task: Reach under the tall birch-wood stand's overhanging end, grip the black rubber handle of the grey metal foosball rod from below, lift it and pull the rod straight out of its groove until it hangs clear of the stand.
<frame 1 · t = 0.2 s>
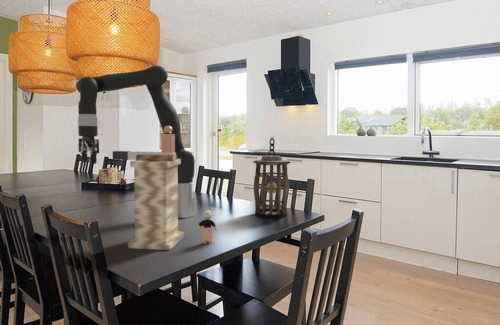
hand: (89, 163, 161), 29 cm above the table, tool pointing down, fingers open, 8 cm apart
foosball rod: (144, 159, 144), point 32 cm above the table, touching display stand
lantern: (270, 215, 195), on the table
display stand: (157, 241, 147), on the table
grandmother figurine: (207, 243, 146), on the table
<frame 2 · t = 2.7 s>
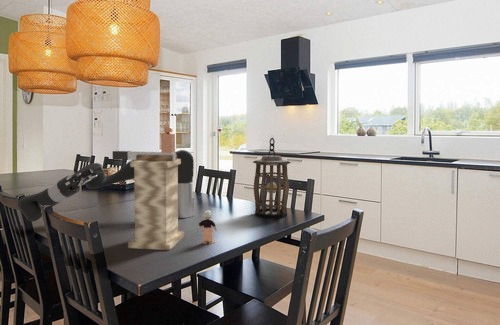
hand: (96, 169, 147), 28 cm above the table, tool pointing upward, fingers open, 8 cm apart
nothing on the table moved.
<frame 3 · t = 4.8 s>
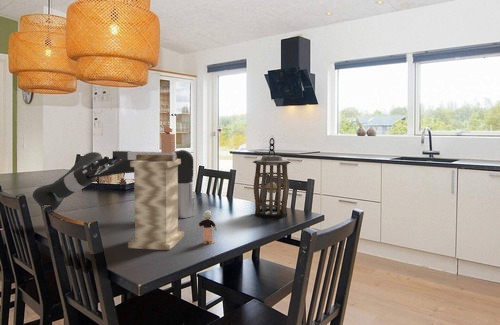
hand: (113, 158, 145), 32 cm above the table, tool pointing upward, fingers open, 8 cm apart
nothing on the table moved.
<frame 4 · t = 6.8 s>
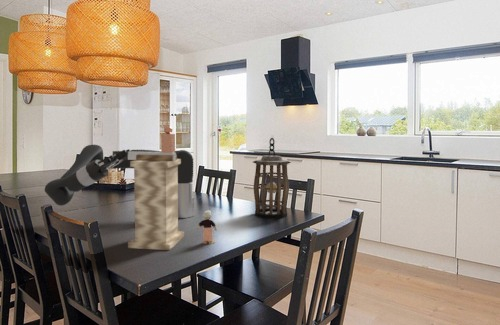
hand: (127, 151, 145), 35 cm above the table, tool pointing upward, fingers closed on foosball rod, 3 cm apart
foosball rod: (144, 159, 144), point 32 cm above the table, touching display stand, gripper
everything else where it was.
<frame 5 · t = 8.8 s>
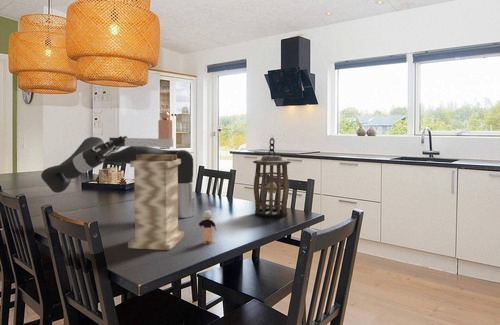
hand: (124, 138, 144), 40 cm above the table, tool pointing upward, fingers closed on foosball rod, 3 cm apart
foosball rod: (141, 146, 144), point 37 cm above the table, touching gripper
everything else where it was.
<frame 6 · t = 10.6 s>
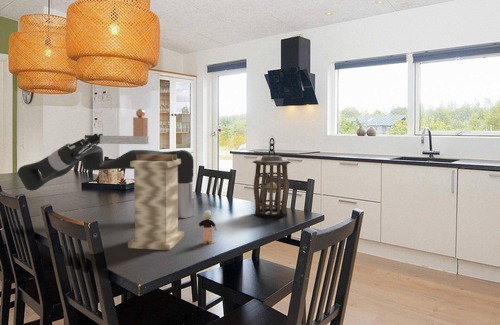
hand: (100, 135, 145), 41 cm above the table, tool pointing upward, fingers closed on foosball rod, 3 cm apart
foosball rod: (116, 143, 144), point 38 cm above the table, touching gripper
everything else where it was.
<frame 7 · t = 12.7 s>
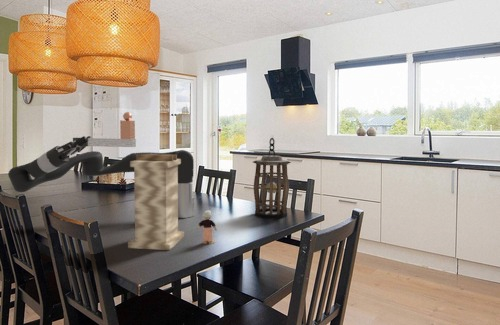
hand: (88, 138, 146), 40 cm above the table, tool pointing upward, fingers closed on foosball rod, 3 cm apart
foosball rod: (104, 146, 146), point 37 cm above the table, touching gripper
everything else where it was.
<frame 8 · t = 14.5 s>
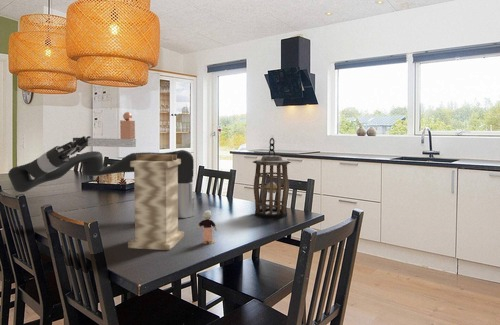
hand: (88, 138, 146), 40 cm above the table, tool pointing upward, fingers closed on foosball rod, 3 cm apart
foosball rod: (104, 146, 146), point 37 cm above the table, touching gripper
everything else where it was.
at the end: the gripper is holding foosball rod; foosball rod moved 16.8 cm from its start; foosball rod touching gripper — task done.
